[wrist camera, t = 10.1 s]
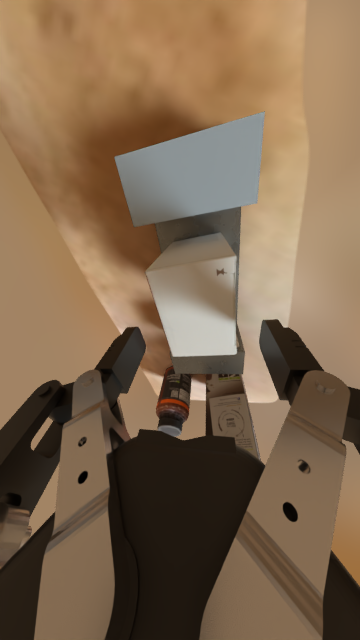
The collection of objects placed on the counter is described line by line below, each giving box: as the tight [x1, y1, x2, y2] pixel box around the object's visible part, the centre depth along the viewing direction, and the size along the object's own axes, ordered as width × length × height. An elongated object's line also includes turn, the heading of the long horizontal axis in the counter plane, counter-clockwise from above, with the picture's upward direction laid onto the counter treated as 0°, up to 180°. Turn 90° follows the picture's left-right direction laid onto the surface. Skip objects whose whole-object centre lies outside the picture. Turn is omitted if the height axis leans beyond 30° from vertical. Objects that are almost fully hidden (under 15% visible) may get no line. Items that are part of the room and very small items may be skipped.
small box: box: [145, 232, 237, 357], centre depth 15 cm, size 8×6×10 cm
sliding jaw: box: [114, 111, 265, 227], centre depth 13 cm, size 4×9×6 cm, turn 100°
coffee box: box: [206, 374, 261, 461], centre depth 26 cm, size 9×6×16 cm
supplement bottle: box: [156, 366, 191, 436], centre depth 30 cm, size 6×6×11 cm
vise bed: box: [155, 206, 245, 374], centre depth 18 cm, size 23×9×8 cm, turn 10°
